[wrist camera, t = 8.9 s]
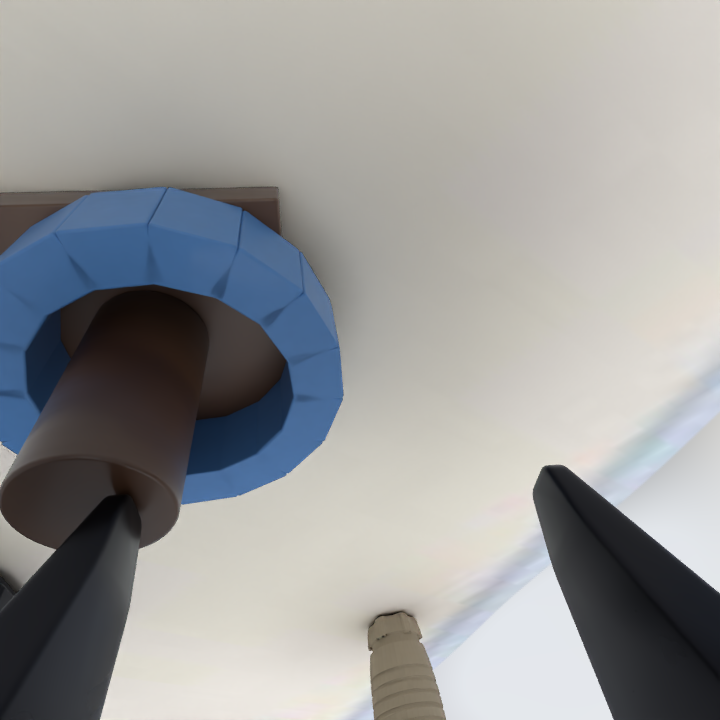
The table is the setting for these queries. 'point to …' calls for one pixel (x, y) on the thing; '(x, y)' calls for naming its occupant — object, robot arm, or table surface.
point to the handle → (401, 672)
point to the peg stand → (132, 388)
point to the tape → (187, 273)
